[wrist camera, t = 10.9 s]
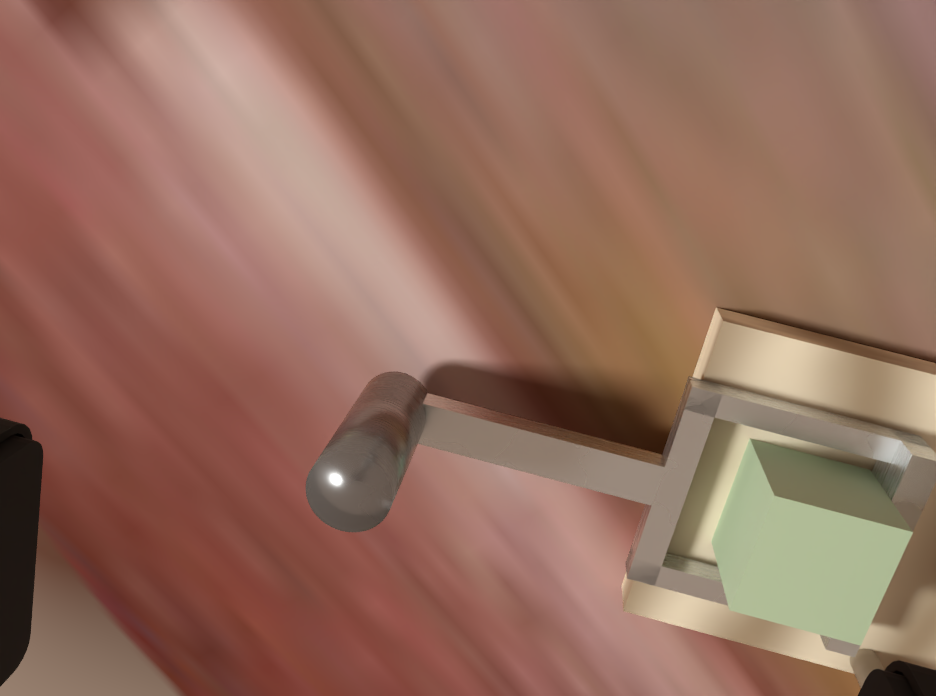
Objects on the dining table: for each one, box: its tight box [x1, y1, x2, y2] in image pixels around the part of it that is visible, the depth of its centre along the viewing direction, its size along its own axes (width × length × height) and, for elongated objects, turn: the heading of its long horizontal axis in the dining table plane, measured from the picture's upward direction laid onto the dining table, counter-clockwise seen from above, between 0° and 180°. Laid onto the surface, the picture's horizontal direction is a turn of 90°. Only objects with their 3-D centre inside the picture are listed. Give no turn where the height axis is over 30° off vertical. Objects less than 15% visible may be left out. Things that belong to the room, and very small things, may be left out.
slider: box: [306, 372, 936, 657], centre depth 33 cm, size 22×9×8 cm, turn 77°
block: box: [711, 439, 913, 646], centre depth 35 cm, size 5×5×5 cm
